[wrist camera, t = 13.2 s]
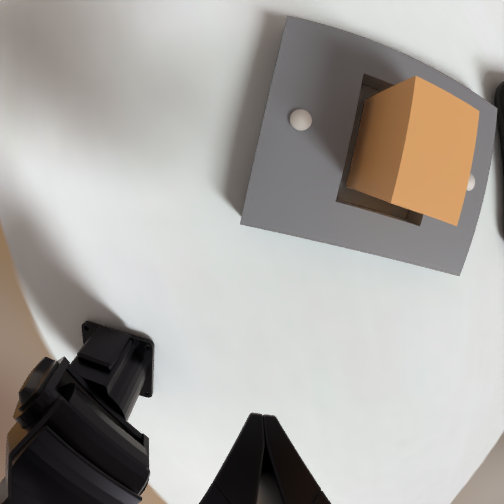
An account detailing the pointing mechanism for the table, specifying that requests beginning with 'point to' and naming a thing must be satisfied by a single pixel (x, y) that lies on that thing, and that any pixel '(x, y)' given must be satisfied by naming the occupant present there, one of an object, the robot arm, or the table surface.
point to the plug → (416, 149)
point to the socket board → (336, 148)
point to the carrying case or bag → (500, 115)
